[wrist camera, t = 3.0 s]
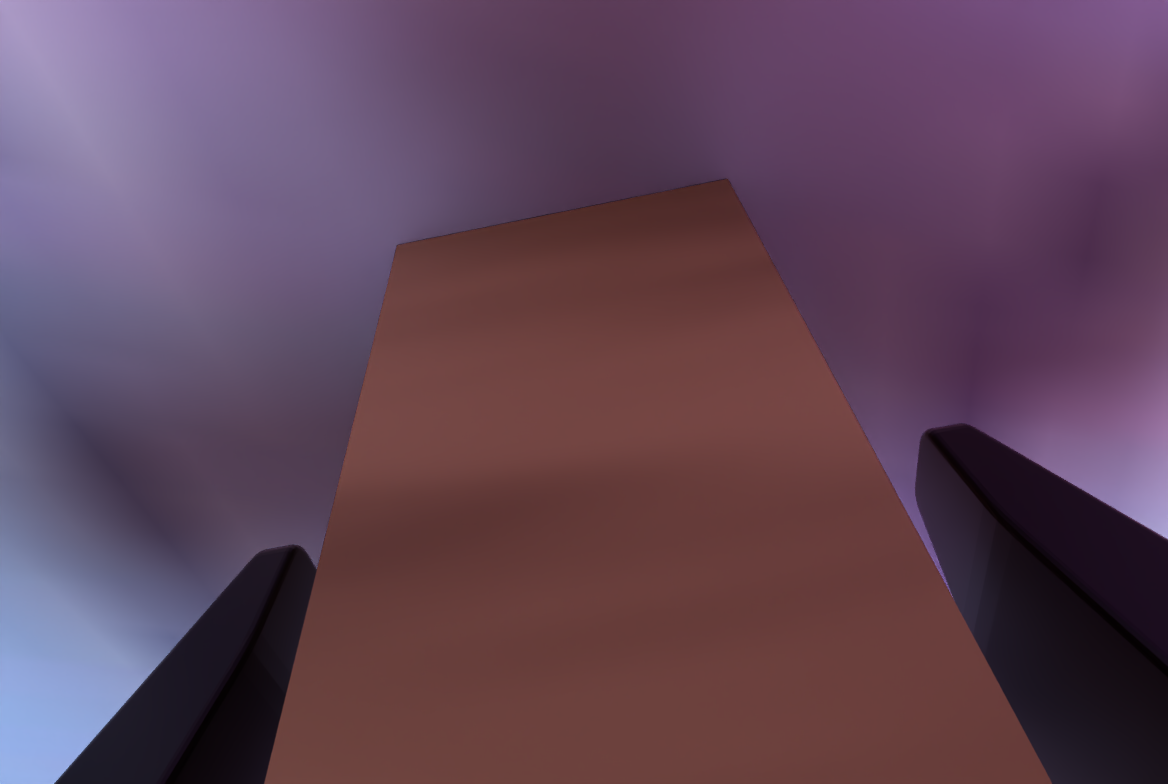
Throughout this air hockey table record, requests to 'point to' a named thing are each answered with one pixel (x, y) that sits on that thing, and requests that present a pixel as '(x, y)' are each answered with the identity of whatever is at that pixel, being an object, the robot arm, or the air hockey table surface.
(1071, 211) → the air hockey table surface
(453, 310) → the brown rectangular block
